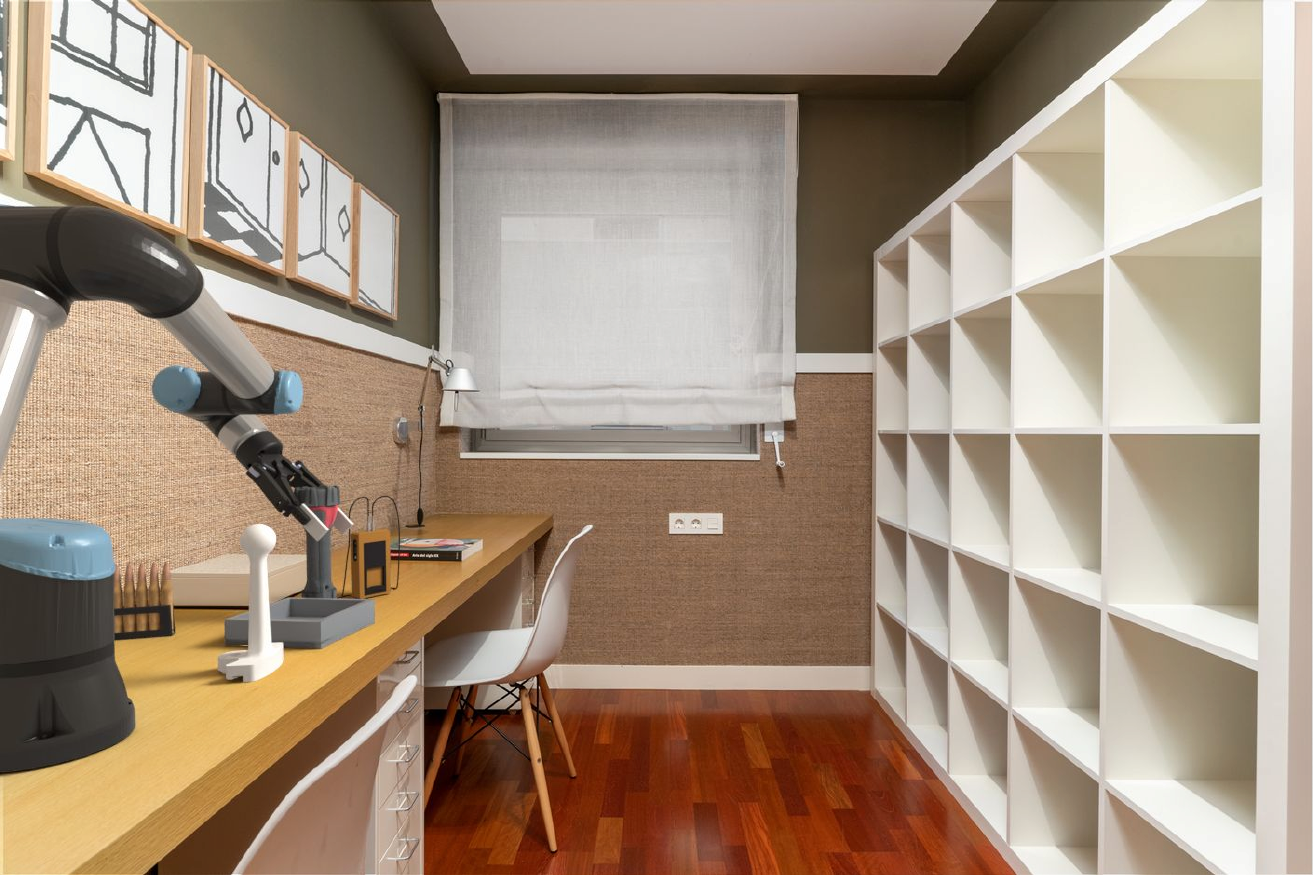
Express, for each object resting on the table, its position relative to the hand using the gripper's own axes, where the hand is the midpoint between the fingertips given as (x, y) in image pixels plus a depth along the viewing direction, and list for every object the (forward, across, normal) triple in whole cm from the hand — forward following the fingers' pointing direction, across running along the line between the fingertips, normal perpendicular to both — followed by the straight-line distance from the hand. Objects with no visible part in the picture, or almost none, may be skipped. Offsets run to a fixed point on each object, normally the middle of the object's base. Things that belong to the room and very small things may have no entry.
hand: (335, 532), depth 141 cm
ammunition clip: (-6, +19, -27) cm, 34 cm away
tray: (+12, +14, -8) cm, 20 cm away
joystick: (+15, +33, -6) cm, 37 cm away
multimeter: (+7, -16, -14) cm, 22 cm away
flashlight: (+8, 0, -13) cm, 15 cm away
